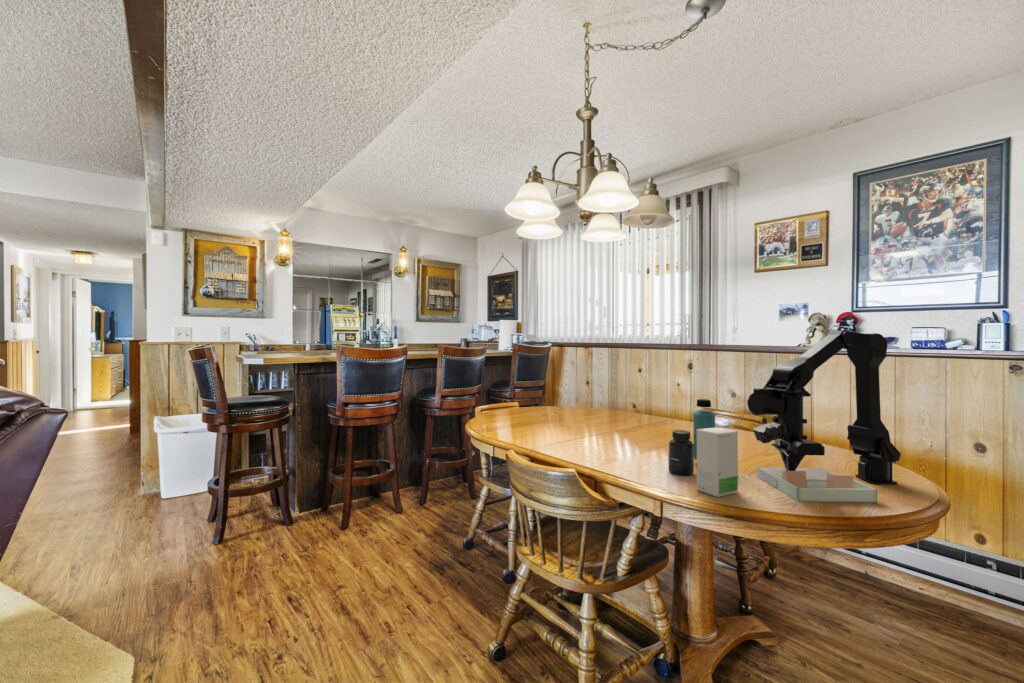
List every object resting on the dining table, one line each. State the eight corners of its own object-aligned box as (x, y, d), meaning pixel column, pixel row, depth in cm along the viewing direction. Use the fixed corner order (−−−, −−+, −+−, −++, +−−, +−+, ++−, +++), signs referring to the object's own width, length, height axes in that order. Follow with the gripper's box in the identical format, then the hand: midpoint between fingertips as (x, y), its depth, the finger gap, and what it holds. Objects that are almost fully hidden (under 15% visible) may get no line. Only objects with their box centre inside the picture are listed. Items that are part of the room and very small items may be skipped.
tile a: (846, 472, 108) (853, 476, 105) (846, 490, 108) (853, 494, 105) (826, 472, 108) (833, 475, 106) (827, 490, 108) (833, 493, 106)
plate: (823, 476, 120) (823, 468, 120) (849, 489, 110) (849, 479, 110) (756, 476, 121) (756, 467, 121) (776, 488, 111) (776, 478, 111)
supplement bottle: (668, 474, 123) (667, 432, 123) (669, 468, 129) (668, 428, 129) (694, 477, 120) (693, 434, 120) (693, 470, 127) (693, 429, 127)
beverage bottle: (718, 467, 129) (718, 401, 129) (695, 466, 131) (694, 400, 131) (713, 461, 136) (712, 398, 136) (690, 460, 137) (690, 397, 137)
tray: (850, 489, 110) (850, 477, 110) (877, 502, 101) (877, 489, 101) (777, 488, 111) (777, 477, 111) (797, 501, 102) (797, 488, 102)
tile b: (800, 471, 110) (805, 471, 107) (803, 490, 108) (808, 490, 106) (781, 470, 110) (785, 470, 108) (784, 489, 109) (788, 489, 107)
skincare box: (717, 498, 105) (717, 433, 105) (694, 489, 111) (694, 429, 110) (739, 492, 109) (739, 430, 108) (716, 484, 114) (716, 425, 114)
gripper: (741, 408, 122) (741, 463, 122) (777, 420, 103) (777, 485, 103) (782, 408, 121) (782, 463, 121) (826, 420, 102) (826, 486, 102)
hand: (790, 473), depth 112 cm, fingers closed
